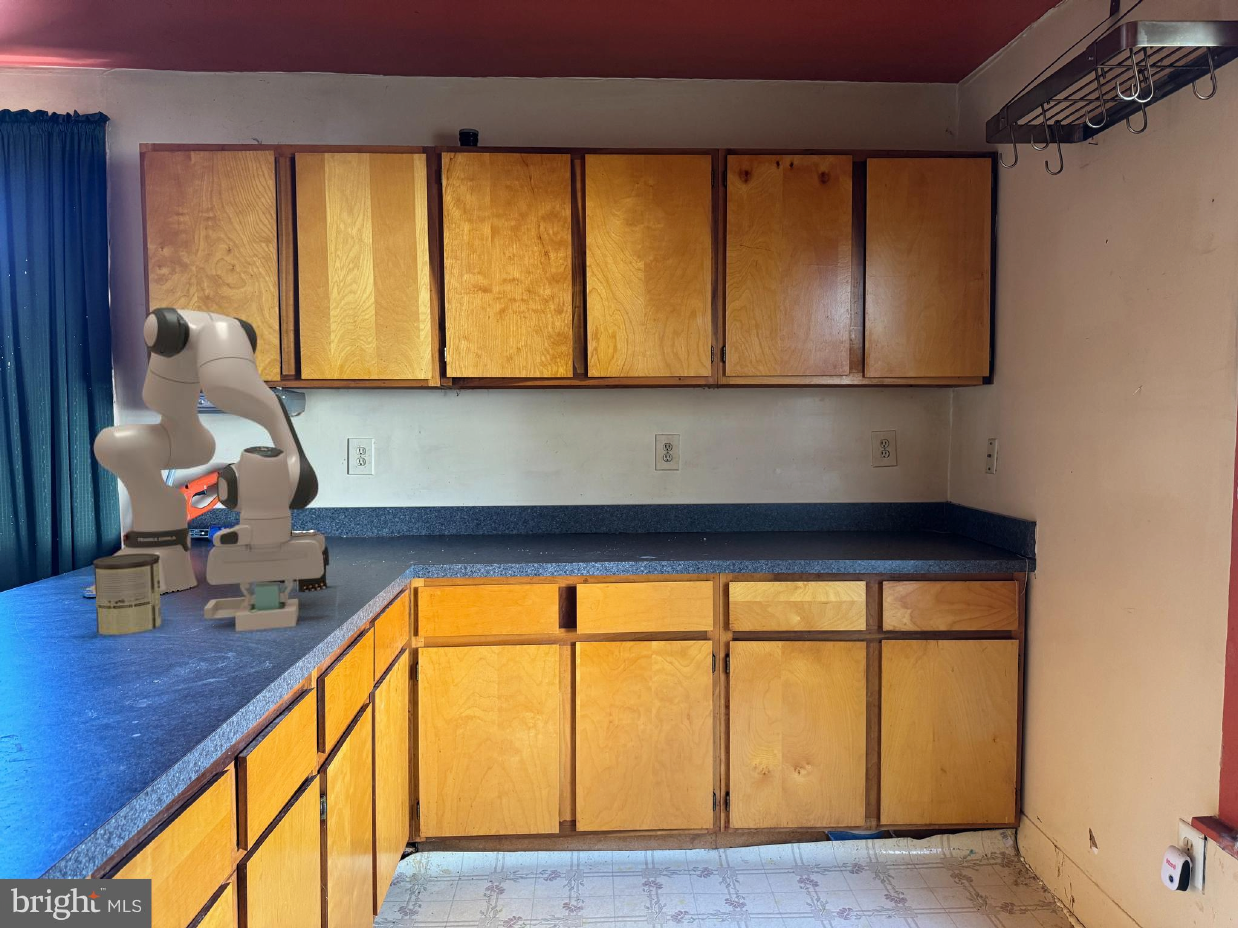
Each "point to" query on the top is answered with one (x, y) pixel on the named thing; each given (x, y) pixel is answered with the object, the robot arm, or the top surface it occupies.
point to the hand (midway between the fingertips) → (267, 603)
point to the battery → (315, 582)
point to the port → (267, 617)
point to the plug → (267, 596)
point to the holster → (223, 607)
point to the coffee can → (127, 593)
